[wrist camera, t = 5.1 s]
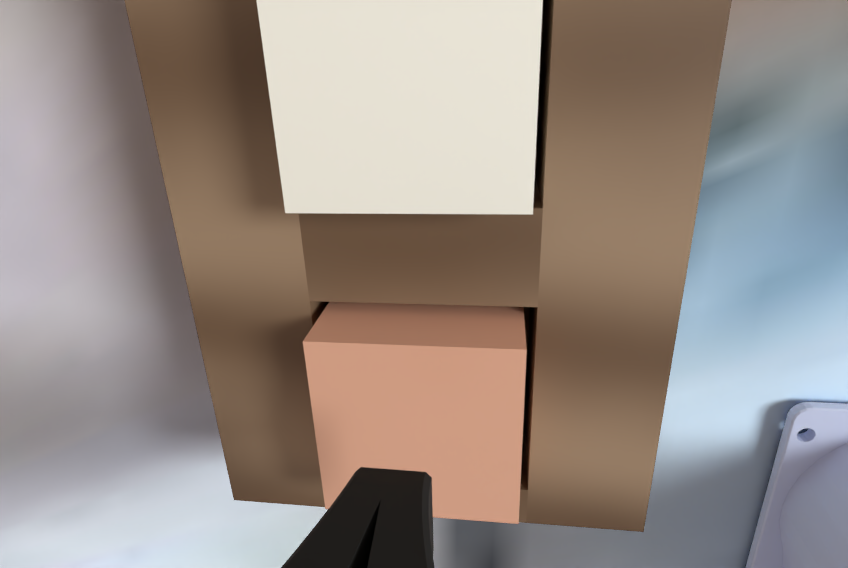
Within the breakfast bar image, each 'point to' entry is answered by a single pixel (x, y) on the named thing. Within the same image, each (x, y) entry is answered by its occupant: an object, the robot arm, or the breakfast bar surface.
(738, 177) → the breakfast bar surface
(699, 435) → the breakfast bar surface
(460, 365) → the terracotta key
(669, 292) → the key panel
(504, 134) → the cream key
